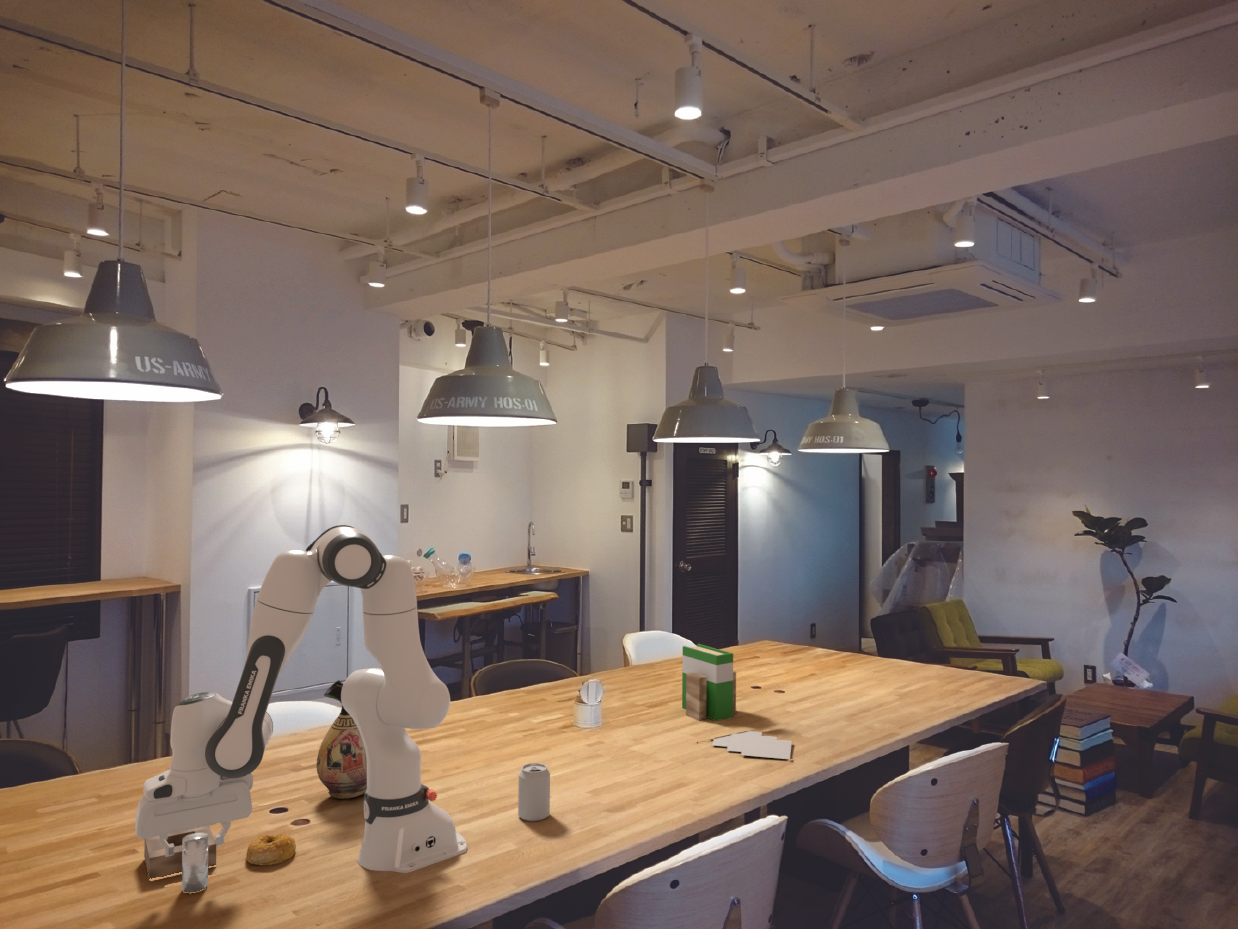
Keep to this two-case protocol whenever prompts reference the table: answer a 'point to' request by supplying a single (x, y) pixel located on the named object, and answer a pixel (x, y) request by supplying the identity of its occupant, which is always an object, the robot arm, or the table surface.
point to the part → (195, 862)
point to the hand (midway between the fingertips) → (194, 849)
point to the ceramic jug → (342, 754)
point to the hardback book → (711, 678)
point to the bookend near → (696, 696)
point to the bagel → (271, 849)
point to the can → (534, 792)
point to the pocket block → (173, 864)
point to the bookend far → (734, 692)
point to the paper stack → (755, 744)
